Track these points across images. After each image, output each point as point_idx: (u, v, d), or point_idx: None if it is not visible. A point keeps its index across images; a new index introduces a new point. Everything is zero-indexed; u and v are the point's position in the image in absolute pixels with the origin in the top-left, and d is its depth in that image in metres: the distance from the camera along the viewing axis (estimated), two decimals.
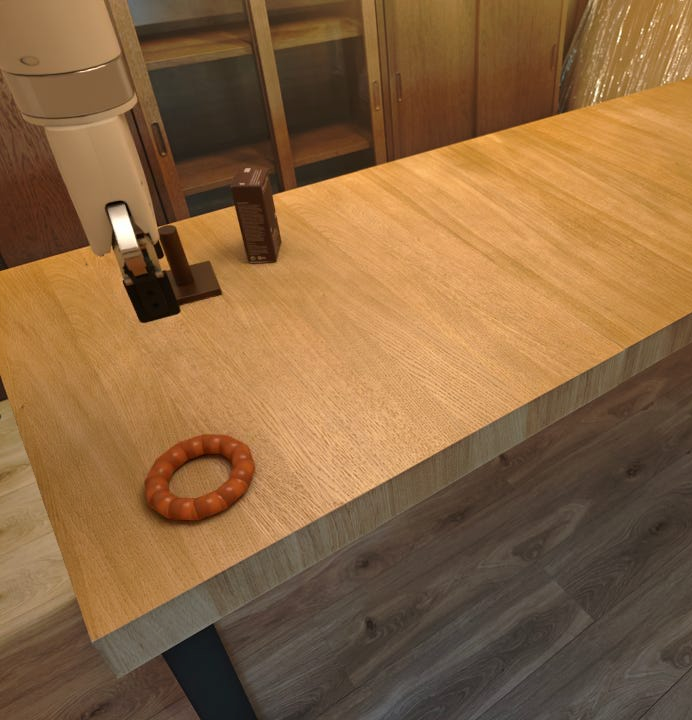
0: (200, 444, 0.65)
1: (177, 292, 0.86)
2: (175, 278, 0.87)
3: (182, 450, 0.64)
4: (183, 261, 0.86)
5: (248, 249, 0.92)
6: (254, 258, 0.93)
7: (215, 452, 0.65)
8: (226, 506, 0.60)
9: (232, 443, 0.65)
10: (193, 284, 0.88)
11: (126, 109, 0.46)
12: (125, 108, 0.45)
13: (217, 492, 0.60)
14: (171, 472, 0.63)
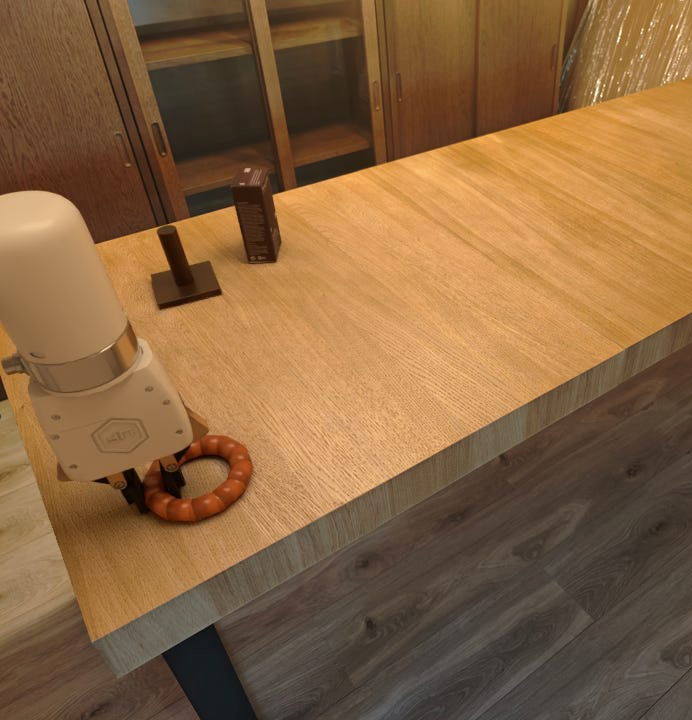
0: (198, 445, 0.65)
1: (177, 292, 0.86)
2: (175, 278, 0.87)
3: None
4: (183, 261, 0.86)
5: (248, 249, 0.92)
6: (254, 258, 0.93)
7: (213, 452, 0.65)
8: (224, 507, 0.60)
9: (230, 443, 0.65)
10: (193, 284, 0.88)
11: None
12: None
13: (215, 493, 0.60)
14: None
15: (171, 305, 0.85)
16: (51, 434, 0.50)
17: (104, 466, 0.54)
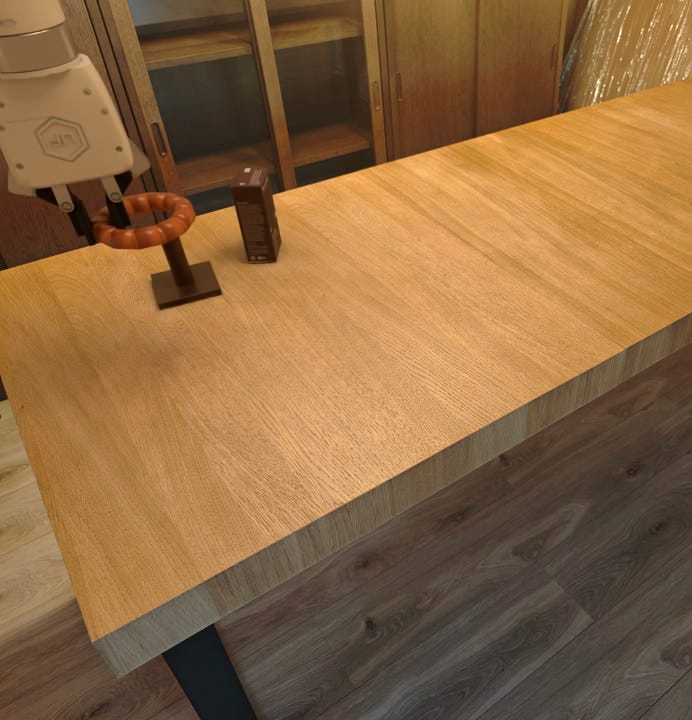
0: (146, 198, 0.70)
1: (177, 292, 0.86)
2: (175, 278, 0.87)
3: (129, 201, 0.69)
4: (183, 261, 0.86)
5: (248, 249, 0.92)
6: (254, 258, 0.93)
7: (160, 206, 0.70)
8: (165, 238, 0.65)
9: (175, 196, 0.70)
10: (193, 284, 0.88)
11: None
12: None
13: (157, 225, 0.65)
14: None
15: (171, 305, 0.85)
16: None
17: (49, 172, 0.59)
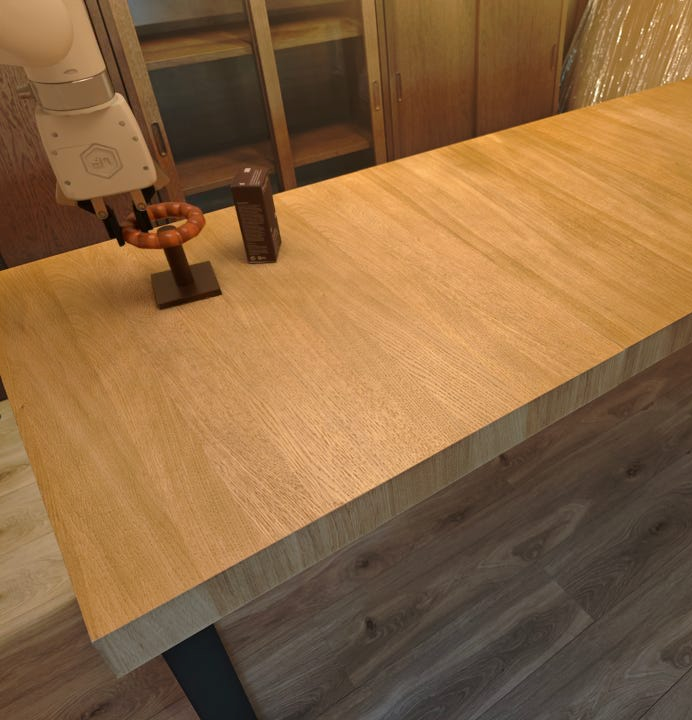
0: (164, 207, 0.85)
1: (177, 292, 0.86)
2: (175, 278, 0.87)
3: (150, 210, 0.84)
4: (183, 261, 0.86)
5: (248, 249, 0.92)
6: (254, 258, 0.93)
7: (175, 214, 0.85)
8: (181, 240, 0.80)
9: (188, 205, 0.84)
10: (193, 284, 0.88)
11: None
12: None
13: (175, 229, 0.80)
14: None
15: (171, 305, 0.85)
16: (51, 149, 0.70)
17: (90, 187, 0.74)
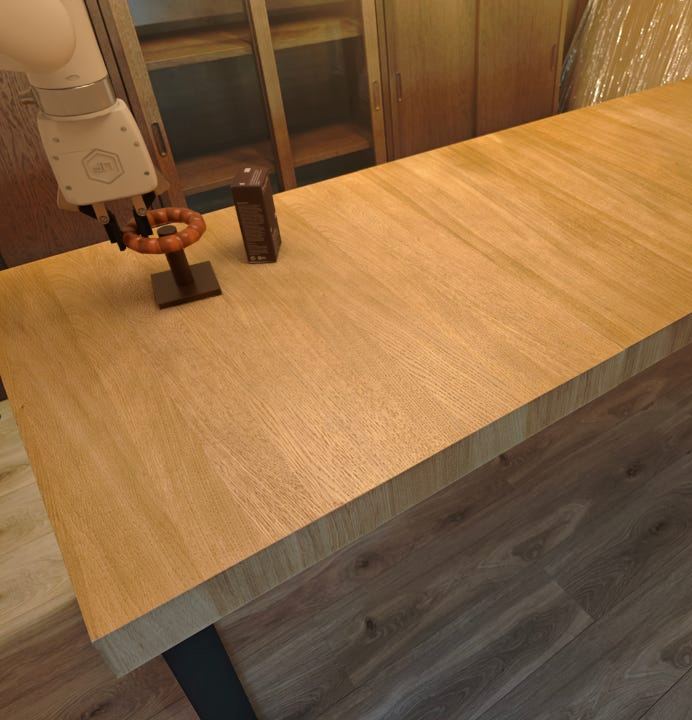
0: (165, 212, 0.85)
1: (177, 292, 0.86)
2: (175, 278, 0.87)
3: (151, 215, 0.84)
4: (183, 261, 0.86)
5: (248, 249, 0.92)
6: (254, 258, 0.93)
7: (176, 219, 0.85)
8: (182, 245, 0.80)
9: (189, 211, 0.85)
10: (193, 284, 0.88)
11: None
12: None
13: (175, 234, 0.80)
14: None
15: (171, 305, 0.85)
16: (53, 154, 0.70)
17: (91, 192, 0.74)
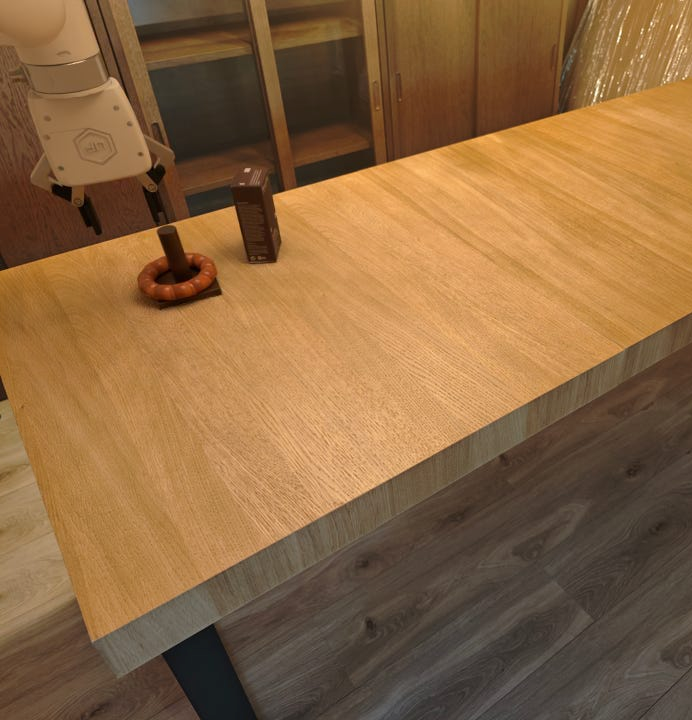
0: None
1: None
2: (175, 278, 0.87)
3: (165, 260, 0.89)
4: (183, 261, 0.86)
5: (248, 249, 0.92)
6: (254, 258, 0.93)
7: (189, 264, 0.90)
8: (195, 291, 0.85)
9: (201, 256, 0.89)
10: None
11: None
12: None
13: (189, 281, 0.85)
14: (156, 274, 0.88)
15: (171, 305, 0.85)
16: (44, 134, 0.69)
17: (84, 173, 0.72)
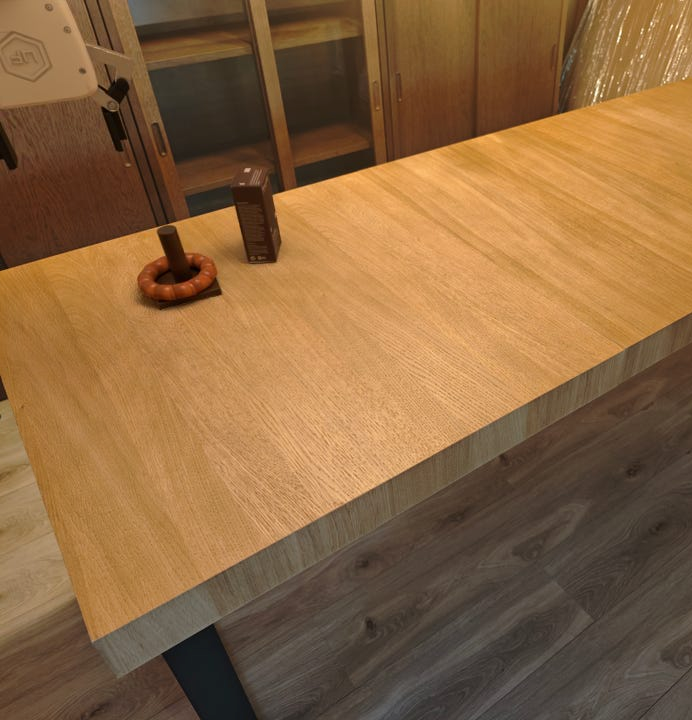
0: None
1: None
2: (175, 278, 0.87)
3: (165, 260, 0.89)
4: (183, 261, 0.86)
5: (248, 249, 0.92)
6: (254, 258, 0.93)
7: (189, 264, 0.90)
8: (195, 291, 0.85)
9: (201, 256, 0.89)
10: None
11: None
12: None
13: (189, 281, 0.85)
14: (156, 274, 0.88)
15: (171, 305, 0.85)
16: None
17: (10, 91, 0.58)
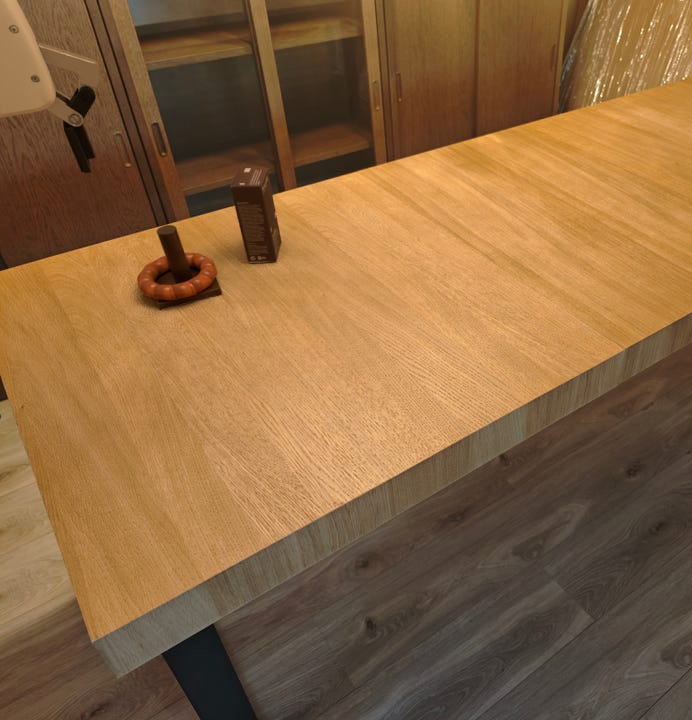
0: None
1: None
2: (175, 278, 0.87)
3: (165, 260, 0.89)
4: (183, 261, 0.86)
5: (248, 249, 0.92)
6: (254, 258, 0.93)
7: (189, 264, 0.90)
8: (195, 291, 0.85)
9: (201, 256, 0.89)
10: None
11: None
12: None
13: (189, 281, 0.85)
14: (156, 274, 0.88)
15: (171, 305, 0.85)
16: None
17: None
